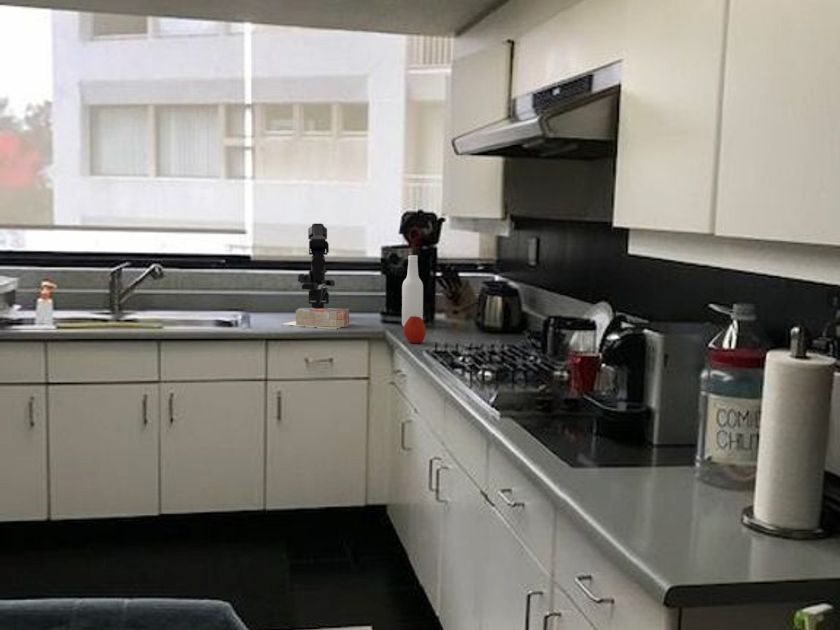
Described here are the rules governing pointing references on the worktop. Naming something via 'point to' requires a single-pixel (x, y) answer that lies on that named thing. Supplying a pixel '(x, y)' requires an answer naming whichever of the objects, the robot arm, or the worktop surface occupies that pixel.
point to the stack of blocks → (322, 317)
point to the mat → (311, 325)
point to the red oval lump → (414, 329)
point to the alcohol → (412, 292)
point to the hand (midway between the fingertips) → (318, 304)
